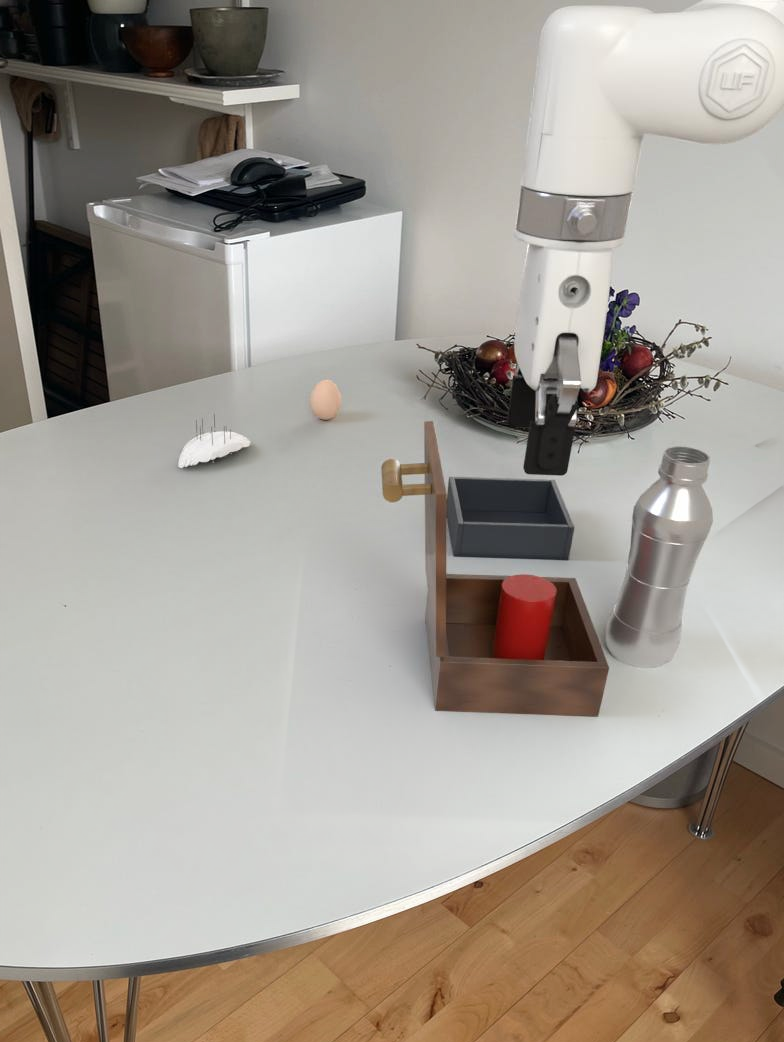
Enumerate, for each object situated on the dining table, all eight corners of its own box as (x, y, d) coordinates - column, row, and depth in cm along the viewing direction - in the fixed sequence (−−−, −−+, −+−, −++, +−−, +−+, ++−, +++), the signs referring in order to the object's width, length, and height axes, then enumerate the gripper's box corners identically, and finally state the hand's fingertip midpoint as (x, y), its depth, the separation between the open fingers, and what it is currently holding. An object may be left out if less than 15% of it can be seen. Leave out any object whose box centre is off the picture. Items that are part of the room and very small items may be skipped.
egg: (303, 418, 140) (303, 379, 137) (325, 411, 142) (326, 373, 139) (324, 427, 137) (325, 387, 134) (347, 419, 140) (348, 380, 136)
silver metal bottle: (652, 635, 93) (702, 437, 82) (687, 675, 87) (746, 469, 76) (588, 640, 92) (630, 441, 81) (620, 682, 86) (669, 474, 75)
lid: (433, 420, 82) (379, 423, 83) (446, 493, 70) (383, 496, 71) (434, 568, 90) (384, 570, 91) (445, 656, 78) (388, 659, 79)
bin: (549, 514, 114) (554, 479, 112) (567, 564, 104) (574, 527, 102) (445, 511, 115) (449, 476, 112) (454, 561, 105) (458, 523, 102)
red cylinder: (538, 650, 89) (551, 575, 84) (546, 680, 85) (560, 602, 81) (488, 649, 89) (498, 573, 85) (493, 678, 85) (505, 600, 81)
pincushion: (234, 439, 133) (233, 399, 130) (264, 451, 129) (264, 410, 126) (165, 463, 126) (162, 421, 123) (195, 477, 122) (193, 434, 119)
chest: (565, 629, 93) (575, 577, 90) (596, 724, 81) (609, 667, 78) (424, 625, 94) (429, 572, 91) (434, 718, 82) (440, 661, 78)
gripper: (657, 244, 60) (605, 496, 70) (600, 197, 75) (563, 411, 84) (536, 241, 60) (500, 492, 70) (502, 194, 75) (476, 408, 84)
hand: (534, 448), depth 77 cm, fingers open, 9 cm apart
